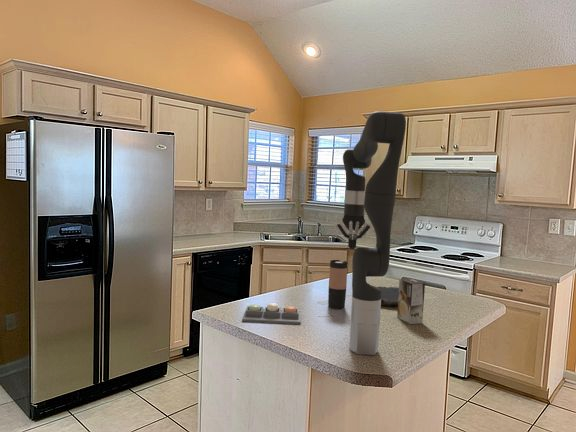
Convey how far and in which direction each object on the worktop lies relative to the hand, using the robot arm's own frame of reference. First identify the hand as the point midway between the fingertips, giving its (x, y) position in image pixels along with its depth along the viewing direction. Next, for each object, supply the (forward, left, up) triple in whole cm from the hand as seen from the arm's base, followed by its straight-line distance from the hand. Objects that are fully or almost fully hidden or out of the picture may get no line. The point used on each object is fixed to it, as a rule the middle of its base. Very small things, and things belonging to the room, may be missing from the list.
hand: (351, 248), depth 162 cm
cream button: (+4, +29, -26) cm, 39 cm away
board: (+36, -23, -29) cm, 52 cm away
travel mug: (+23, +2, -29) cm, 37 cm away
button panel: (+4, +29, -29) cm, 41 cm away
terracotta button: (+4, +22, -27) cm, 35 cm away
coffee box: (+9, -26, -29) cm, 40 cm away
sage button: (+4, +36, -27) cm, 45 cm away
